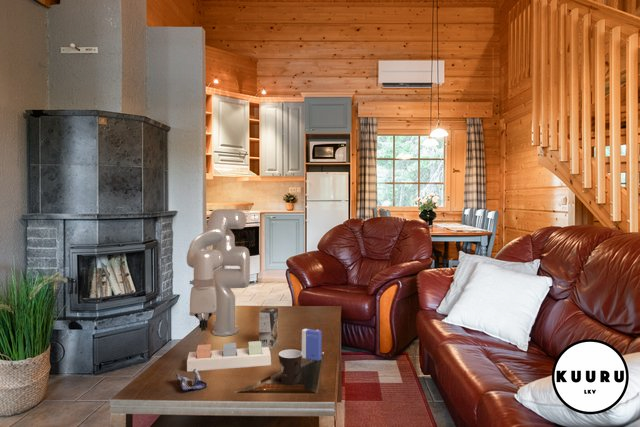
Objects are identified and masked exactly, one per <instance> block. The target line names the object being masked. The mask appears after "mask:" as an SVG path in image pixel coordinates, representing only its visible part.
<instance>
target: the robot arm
mask: <svg viewBox="0 0 640 427" xmlns="http://www.w3.org/2000/svg"><path fill="white" fill-rule="evenodd" d="M246 225H247V215H246V213H245V212H244V211H243V210H239V209H226V208H225V209H223V208H222V209H214V210H212V212H211V213H210V215H209V218H208V221H207V225H206V228H205V231H204V232H202V233H200V234H199V235H197V237H195V238H194V239H193V240H191V242H190V244H189V247H188V250H187V253H186V264H187V266H188V267H189V268H192V269H193V278H192V280H189V285H192V286H191V289H190V295H189V316H193V317H195V318H196V319H197V320H198V321H199V322H198V323H199V329H200V330H201V332H202V331H206V329H207V328H208V320H209V319H210V318H211V317H212V316H215V321H214V322H212V323H211V326H213V327H214V328H213V329H212V335H214V336H217V337H228V336H229V337H230V336H234V335H236V334H238V333H239V327H236V296H235V294H234V292H233V291H232V289H247V288H248V287H249V285H250V280H251V278H250V277H251V276H250V275H251V274H250V273H251V269H250V268H251V266H250V265H251V263H250V262H251V258H250V257H251V255H250V250H249V248H247V247H246V246H236V244H235V243H236V242H235V237H236V236H235V235H234V233H233V231H232V230H233V229H234V230H242V229H244V228H245V227H246ZM214 245H216V249H206V248H208V247H211V246H214ZM220 266H225V267H228V266H229V267H239V268H219V267H220ZM217 268H219V269H217ZM214 269H217V270H215V271H214ZM203 314H205V316H204V317H203Z"/></svg>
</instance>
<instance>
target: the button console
mask: <svg viewBox="0 0 640 427" xmlns="http://www.w3.org/2000/svg"><path fill="white" fill-rule="evenodd" d="M271 354H272V353H271V349H269V347H262V354H255V355H249V354H248V347H246V348H236V356H226V357H223V349H217V350H211V358H198V359H197V351H189V352H188V356H187V360H186V371H187V372H194V371H193V370H194V369H196V370H197V371H198V372H199V371H201V372H202V371H212V370H225V369H237V368H238V369H239V368H240V369H241V368H251V367H262V366H263V367H265V366H272V355H271ZM191 369H192V370H191Z"/></svg>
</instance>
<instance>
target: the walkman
mask: <svg viewBox="0 0 640 427" xmlns="http://www.w3.org/2000/svg"><path fill="white" fill-rule="evenodd" d="M301 352H302V359H305V360H312V361H320V360H321V359H322V330H320V329H311V328H303V329H302V330H301Z"/></svg>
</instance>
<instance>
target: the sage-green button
mask: <svg viewBox="0 0 640 427" xmlns="http://www.w3.org/2000/svg"><path fill="white" fill-rule="evenodd" d="M247 343H248V347H247V348H248V354H249V355H255V354H262V345H261V341H259V340H256V341H248V342H247Z"/></svg>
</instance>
